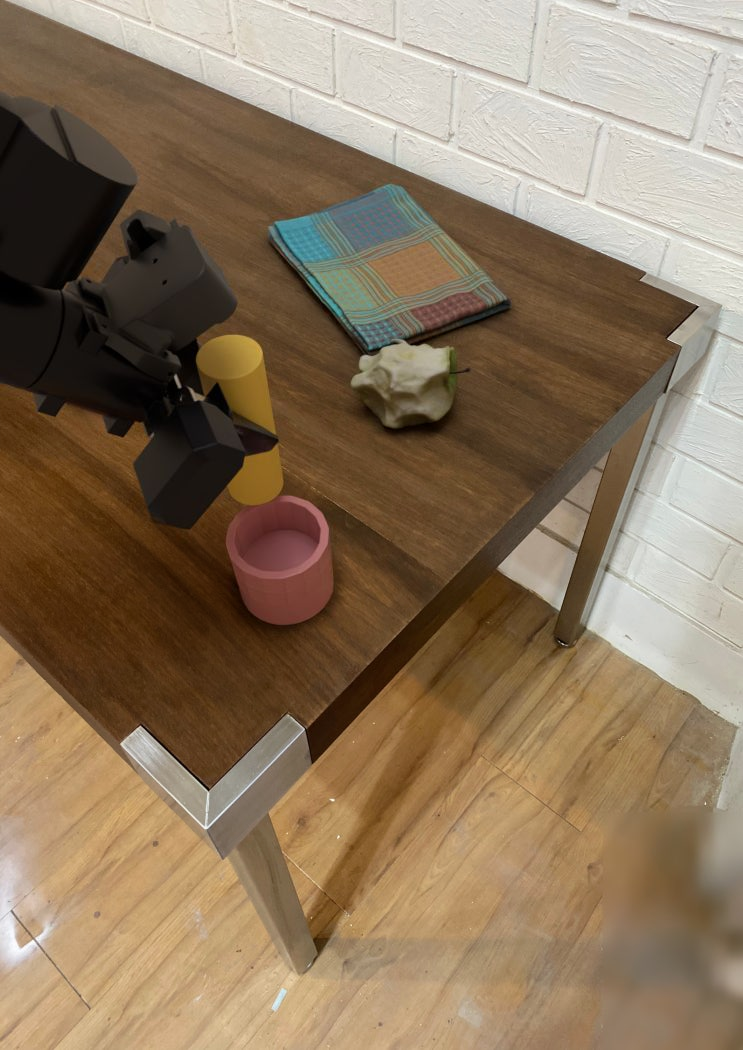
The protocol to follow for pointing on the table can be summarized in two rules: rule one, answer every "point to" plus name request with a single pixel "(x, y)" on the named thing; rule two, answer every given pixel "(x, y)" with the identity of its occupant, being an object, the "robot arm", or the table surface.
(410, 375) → the fruit
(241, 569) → the pot
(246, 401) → the yellow cylinder
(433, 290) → the dish towel
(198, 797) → the table surface
